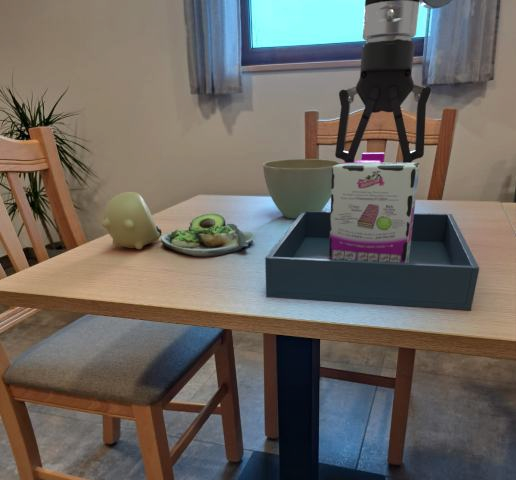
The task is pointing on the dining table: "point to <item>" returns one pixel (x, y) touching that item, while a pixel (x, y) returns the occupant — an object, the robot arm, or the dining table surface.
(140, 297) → the dining table surface
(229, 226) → the salad plate
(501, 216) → the dining table surface
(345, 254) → the candy bar box
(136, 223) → the toy pig
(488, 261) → the dining table surface
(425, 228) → the bin
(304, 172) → the flower pot
